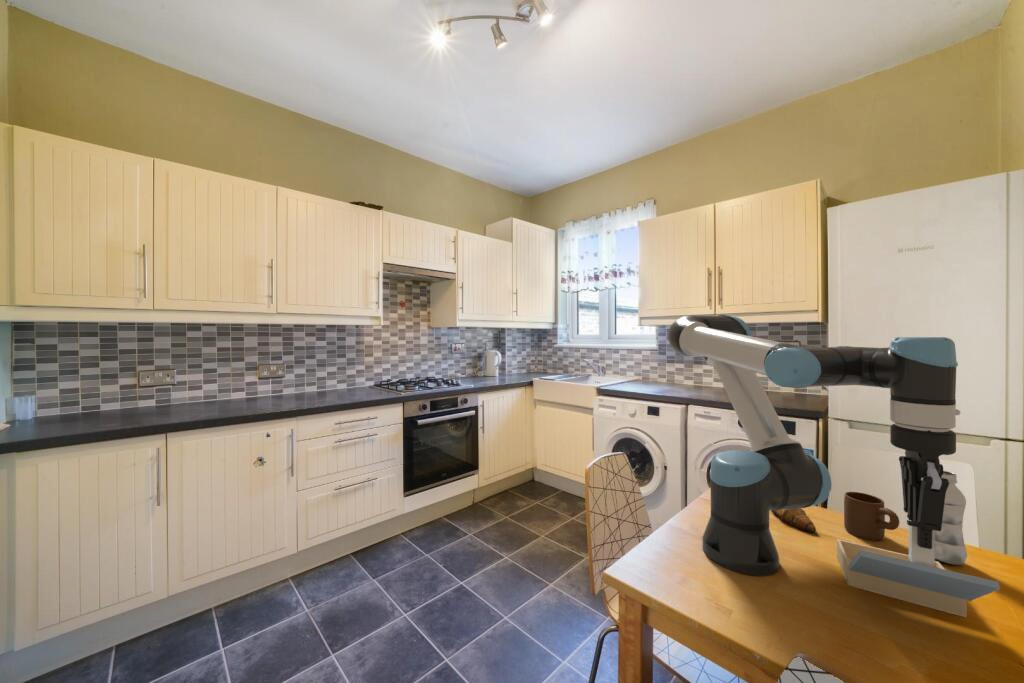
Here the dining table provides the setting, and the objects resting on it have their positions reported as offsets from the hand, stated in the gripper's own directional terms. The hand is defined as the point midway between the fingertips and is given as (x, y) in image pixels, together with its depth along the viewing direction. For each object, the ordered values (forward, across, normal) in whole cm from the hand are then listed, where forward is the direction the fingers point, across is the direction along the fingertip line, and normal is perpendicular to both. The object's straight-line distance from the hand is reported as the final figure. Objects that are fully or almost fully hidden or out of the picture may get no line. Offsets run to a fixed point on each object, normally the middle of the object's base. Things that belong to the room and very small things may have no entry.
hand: (921, 562), depth 63 cm
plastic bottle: (+12, +32, -12) cm, 36 cm away
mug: (+12, +36, -1) cm, 38 cm away
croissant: (+13, +36, +15) cm, 41 cm away
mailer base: (+12, +15, 0) cm, 19 cm away
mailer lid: (+3, +3, 0) cm, 5 cm away
